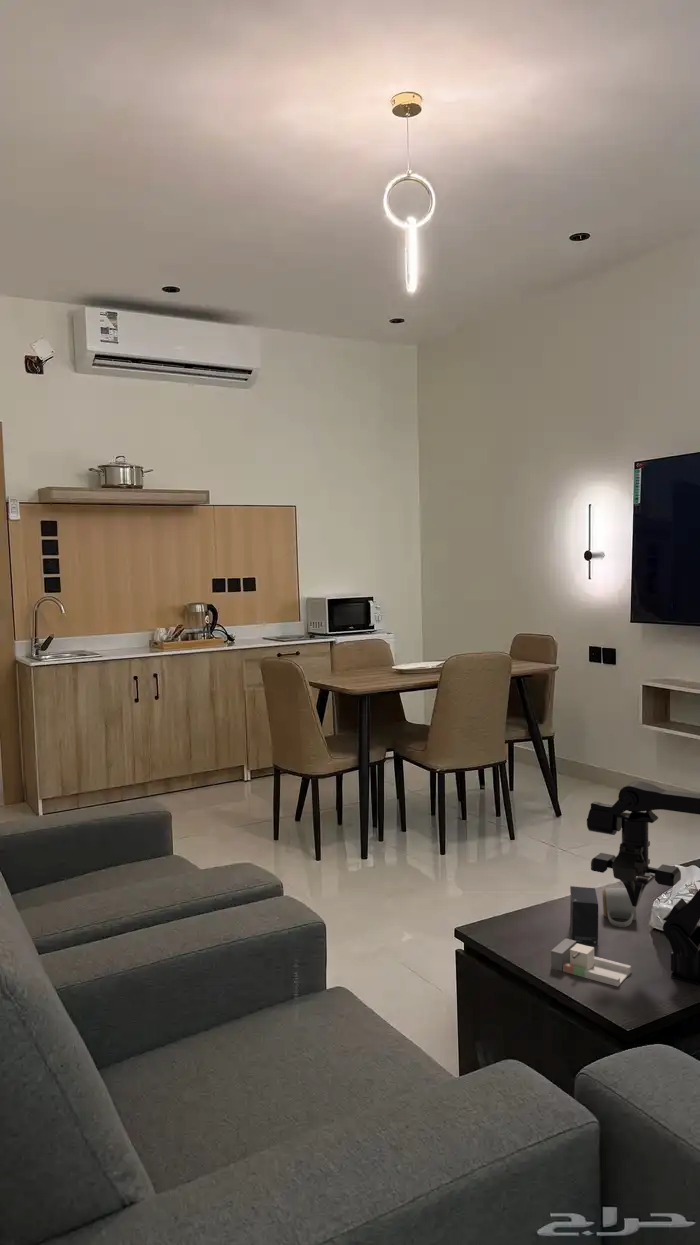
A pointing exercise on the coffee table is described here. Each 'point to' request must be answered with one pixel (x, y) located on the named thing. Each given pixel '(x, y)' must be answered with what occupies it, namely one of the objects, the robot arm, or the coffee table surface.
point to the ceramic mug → (618, 906)
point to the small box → (584, 915)
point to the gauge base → (599, 972)
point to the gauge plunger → (582, 956)
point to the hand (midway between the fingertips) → (635, 906)
